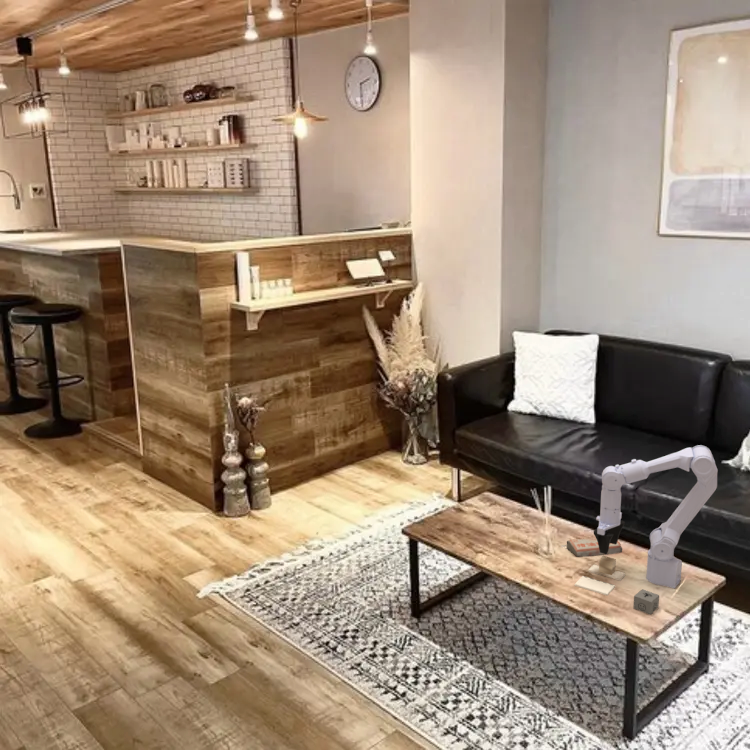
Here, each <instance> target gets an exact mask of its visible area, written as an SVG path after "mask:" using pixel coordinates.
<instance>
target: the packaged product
mask: <svg viewBox="0 0 750 750" xmlns="http://www.w3.org/2000/svg"><path fill="white" fill-rule="evenodd" d="M560 547H561V548H563V547H564V549H565V550H567V551H570V553H572V554H573V555H575V556H576V557H577V558H578V557H580V558H581V557H594V556H606V555H612V554H619V553H623V547H622V545H621V543H620V541H618V542H617V544H612V543H610V545H609V550H608V553H607V554H604V553H600V550H599V545H598V542H597V539H596V537H588V538H576V539H568V540H566V545H564V544H563V545H562V544H561V545H560Z"/></svg>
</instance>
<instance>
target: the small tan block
mask: <svg viewBox="0 0 750 750" xmlns="http://www.w3.org/2000/svg"><path fill="white" fill-rule="evenodd" d="M616 562H617V559H616V558H613V557H610V556H606V555H601V557H600V558H599V562H598V565H597V564H593V565H591V566H590V567H589V568H588V570H587V572H589V573H592V574H597V575H599V576H603V577H607V578H609V579H614V580H616V581H620V582H622V580H623V578H624V577H625V576H626V573H625V572H622V571H620V570H619V571H618V570H616V567H617V566H616V565H617V563H616Z"/></svg>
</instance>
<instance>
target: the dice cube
mask: <svg viewBox="0 0 750 750" xmlns="http://www.w3.org/2000/svg"><path fill="white" fill-rule="evenodd" d="M659 604H660V594H657V593H655V592H652V591H648V590H646V589H640V590H639V591H638V592H637V593H635V594H634V596H633V609H634V610H637V611H640V612H643V613H645V614H647V615H652V614H653V613H654V612H655V611H656V610H658V608H659Z"/></svg>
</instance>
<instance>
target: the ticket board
mask: <svg viewBox="0 0 750 750" xmlns="http://www.w3.org/2000/svg"><path fill="white" fill-rule="evenodd" d="M574 587H578V588H580V589H583V590H587V591H590V592H592V593H593V592H594V593H597V594H600V595H603V596H609V595H610V594H611V592H612V591H613V590H614V589H615V588H616V585H615V584H612V583H608V582H605V581H602V580H599V579H595V578H592V577H588V576H584V575H582V576H581V577H580V578H579V579H578V580H577V581H576V582H575V583H574Z"/></svg>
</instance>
